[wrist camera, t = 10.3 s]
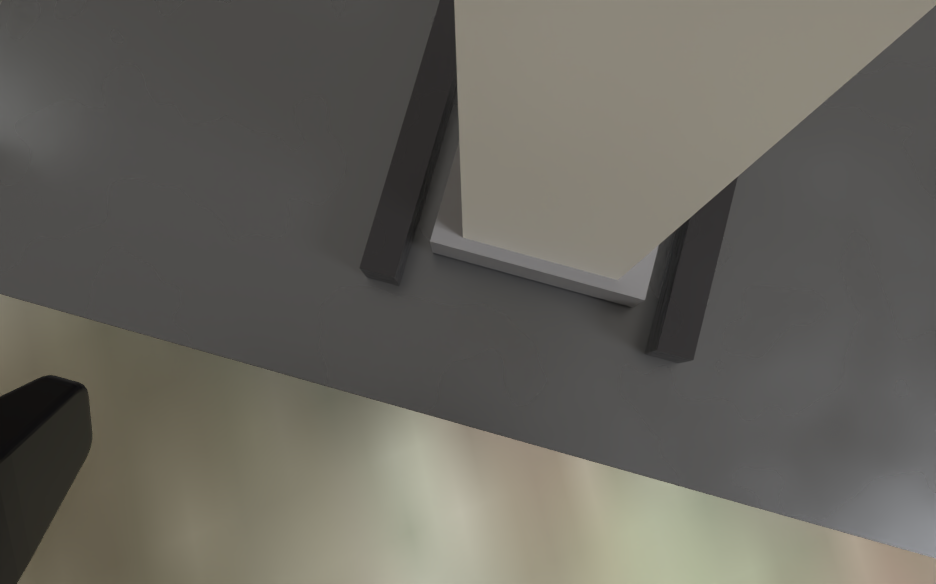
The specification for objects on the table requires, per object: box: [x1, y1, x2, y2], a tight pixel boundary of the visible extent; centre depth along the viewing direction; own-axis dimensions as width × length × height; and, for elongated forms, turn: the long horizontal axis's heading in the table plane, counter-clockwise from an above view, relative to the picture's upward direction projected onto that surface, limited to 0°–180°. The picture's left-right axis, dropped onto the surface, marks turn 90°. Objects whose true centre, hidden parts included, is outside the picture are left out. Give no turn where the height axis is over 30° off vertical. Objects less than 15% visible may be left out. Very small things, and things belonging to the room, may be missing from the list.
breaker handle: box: [430, 0, 936, 307], centre depth 9 cm, size 3×4×12 cm
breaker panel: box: [0, 0, 936, 558], centre depth 14 cm, size 14×29×5 cm, turn 74°
